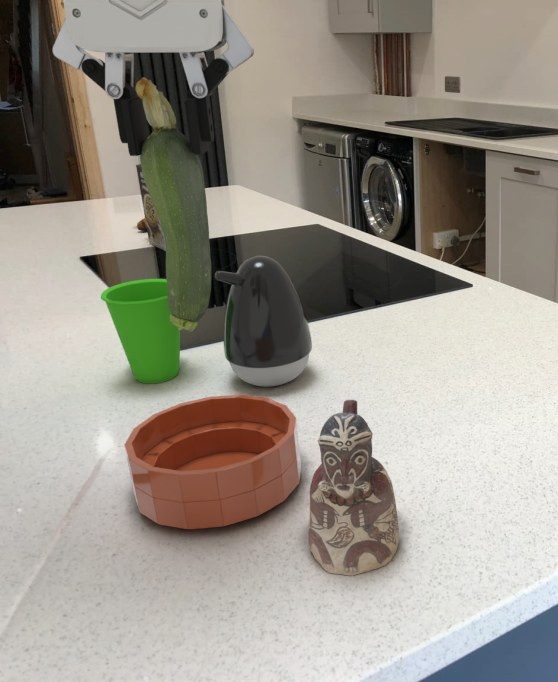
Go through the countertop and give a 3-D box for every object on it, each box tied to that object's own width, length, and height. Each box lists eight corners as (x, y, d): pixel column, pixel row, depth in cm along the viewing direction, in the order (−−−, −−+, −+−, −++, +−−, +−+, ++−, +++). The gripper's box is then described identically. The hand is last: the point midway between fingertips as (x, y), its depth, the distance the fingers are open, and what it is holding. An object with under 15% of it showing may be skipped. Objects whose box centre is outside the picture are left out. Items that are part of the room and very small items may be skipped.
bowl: (117, 544, 59) (103, 480, 57) (159, 454, 72) (149, 400, 70) (295, 529, 61) (288, 466, 59) (305, 444, 74) (300, 390, 72)
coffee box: (147, 243, 152) (134, 164, 146) (178, 238, 155) (166, 161, 150) (164, 252, 145) (151, 169, 139) (196, 246, 149) (184, 165, 143)
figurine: (296, 570, 56) (281, 431, 52) (326, 515, 63) (315, 388, 58) (387, 579, 55) (380, 438, 51) (407, 523, 62) (402, 394, 57)
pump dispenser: (212, 376, 90) (195, 255, 84) (289, 354, 96) (278, 240, 90) (249, 405, 82) (233, 274, 77) (330, 379, 88) (320, 257, 83)
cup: (100, 385, 87) (82, 298, 83) (151, 357, 95) (136, 276, 91) (164, 395, 85) (148, 305, 81) (210, 364, 93) (198, 281, 89)
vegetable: (212, 318, 64) (177, 74, 56) (233, 331, 61) (199, 75, 53) (161, 330, 61) (117, 76, 54) (181, 345, 58) (137, 77, 51)
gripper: (-32, -147, 44) (34, 162, 51) (251, -139, 46) (277, 157, 53) (20, -121, 51) (72, 148, 58) (264, -115, 53) (286, 145, 60)
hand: (170, 150), depth 56 cm, fingers closed on vegetable, 3 cm apart
